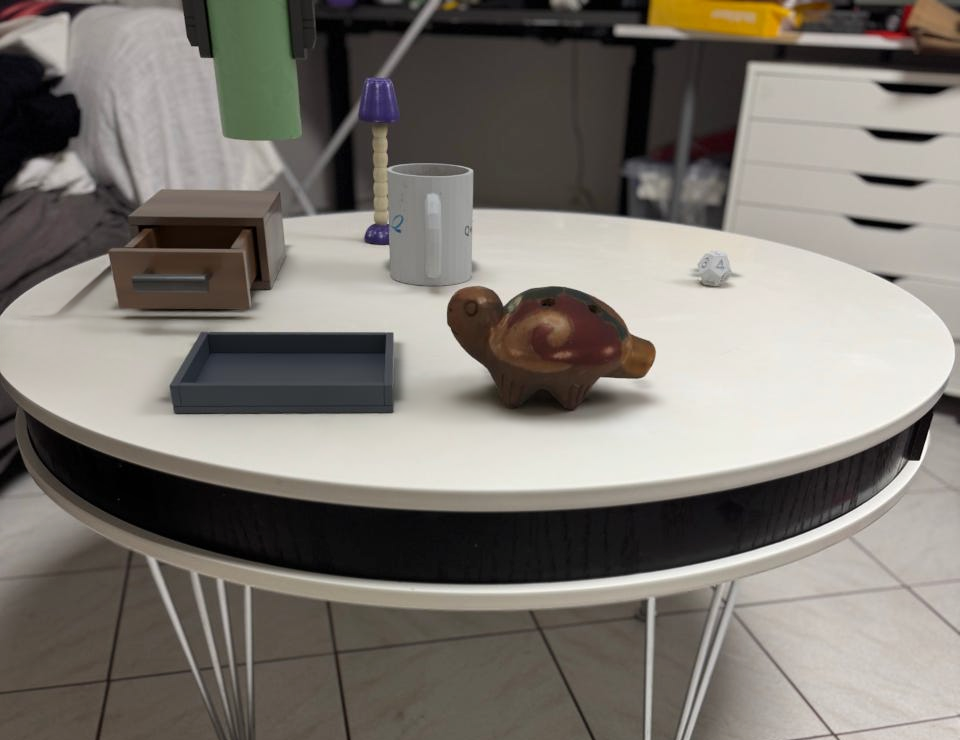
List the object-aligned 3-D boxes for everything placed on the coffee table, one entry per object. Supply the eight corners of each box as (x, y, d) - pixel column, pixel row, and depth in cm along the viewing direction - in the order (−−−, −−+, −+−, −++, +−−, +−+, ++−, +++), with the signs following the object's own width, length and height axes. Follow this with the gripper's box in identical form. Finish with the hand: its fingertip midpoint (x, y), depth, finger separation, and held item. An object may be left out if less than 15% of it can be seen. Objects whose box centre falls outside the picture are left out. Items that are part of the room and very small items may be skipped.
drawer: (243, 323, 78) (235, 263, 75) (106, 322, 77) (94, 262, 74) (267, 271, 92) (262, 220, 89) (153, 271, 91) (143, 219, 88)
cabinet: (271, 289, 90) (263, 217, 86) (141, 289, 89) (127, 215, 85) (286, 255, 102) (280, 190, 98) (171, 254, 101) (160, 189, 97)
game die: (722, 279, 98) (727, 249, 96) (734, 288, 94) (739, 257, 93) (690, 279, 97) (695, 249, 95) (701, 288, 94) (706, 257, 92)
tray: (174, 413, 63) (169, 385, 62) (204, 356, 73) (201, 331, 72) (393, 412, 64) (392, 384, 63) (394, 356, 74) (393, 332, 73)
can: (216, 140, 58) (194, -35, 53) (228, 130, 62) (209, -33, 57) (298, 141, 59) (284, -32, 53) (305, 131, 63) (292, -30, 58)
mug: (398, 263, 100) (395, 161, 94) (476, 267, 99) (478, 165, 93) (375, 292, 90) (370, 180, 84) (461, 297, 89) (462, 185, 83)
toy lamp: (410, 240, 109) (407, 78, 100) (386, 247, 106) (381, 80, 96) (379, 235, 111) (373, 75, 102) (354, 241, 108) (346, 77, 99)
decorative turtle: (435, 377, 70) (441, 267, 66) (623, 385, 73) (641, 280, 68) (449, 418, 62) (457, 296, 58) (660, 426, 64) (683, 309, 60)
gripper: (353, -296, 52) (368, 57, 61) (95, -309, 51) (152, 53, 60) (348, -335, 46) (365, 64, 55) (53, -350, 45) (125, 59, 54)
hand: (254, 56), depth 58 cm, fingers closed on can, 5 cm apart
